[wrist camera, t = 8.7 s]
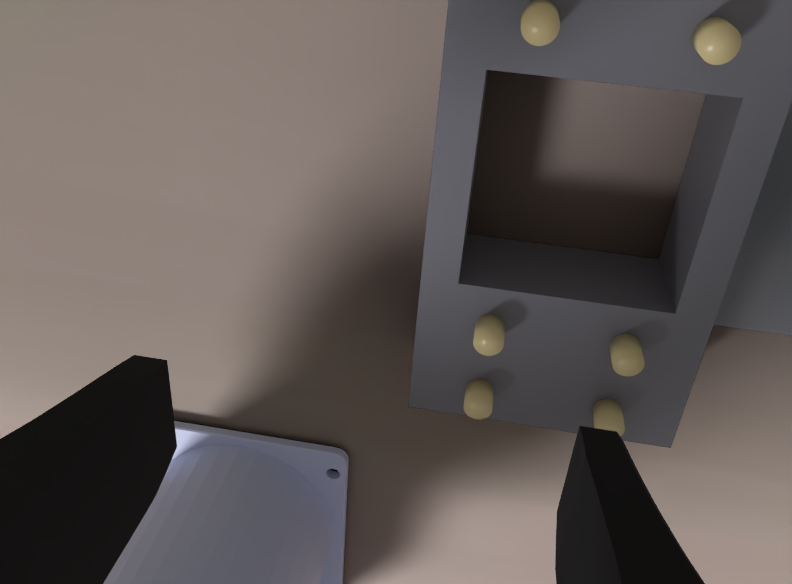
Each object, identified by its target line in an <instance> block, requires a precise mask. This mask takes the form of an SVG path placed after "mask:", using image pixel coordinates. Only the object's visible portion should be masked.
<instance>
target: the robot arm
mask: <svg viewBox="0 0 792 584" xmlns="http://www.w3.org/2000/svg"><path fill="white" fill-rule="evenodd" d="M348 467H349V458H348V455H347V454H346V452H345V451H343V450H342V449H340V448H336V447H331V446H325V445H318V444H312V443H306V442H300V441H294V440H288V439H282V438H276V437H270V436H264V435H258V434H252V433H245V432H239V431H233V430H227V429H221V428H215V427H209V426H203V425H197V424H191V423H185V422H178V421H174V416H173V407H172V399H171V390H170V382H169V373H168V365H167V360H162V359H156V358H149V357H143V356H137V355H134V356H132V357H130V358H129V359H127V360H125V361H124V362H122V363H121V364H119V365H117V366H116V367H114V368H113V369H111V370H110V371H108V372H107V373H105V374H103V375H102V376H100V377H99V378H97V379H96V380H94V381H93V382H91V383H90V384H88V385H87V386H85V387H84V388H82V389H81V390H79V391H78V392H76V393H74V394H73V395H71V396H70V397H68V398H67V399H65V400H64V401H62V402H60V403H59V404H57V405H56V406H54V407H53V408H51V409H49V410H48V411H46V412H45V413H43V414H42V415H40V416H38V417H37V418H35V419H34V420H32V421H30V422H29V423H27V424H25V425H24V426H22V427H20V428H18V429H17V430H15V431H13V432H11V433H10V434H8V435H6V436H5V437H3V438H1V439H0V584H343V569H344V548H345V528H346V507H347V487H348ZM331 469H335V470H337V471H338V472H335V471H332V470H331ZM555 569H556V581H557V584H705V583H704V582H703V580H702V579H701V577H700V576H699V574H698V573H697V571H696V570H695V568H694V567H693V565H692V564H691V562H690V561H689V559H688V558H687V556H686V555H685V553H684V551H683V550H682V548H681V547H680V545H679V543H678V542H677V540H676V538H675V537H674V535H673V533H672V532H671V530H670V528H669V527H668V525H667V523H666V521H665V520H664V518H663V516H662V515H661V513H660V511H659V510H658V508H657V506H656V504H655V502H654V501H653V499H652V497H651V495H650V493H649V491H648V490H647V488H646V486H645V484H644V482H643V480H642V478H641V476H640V474H639V472H638V470H637V468H636V467H635V465H634V462H633V460H632V458H631V456H630V454H629V452H628V450H627V448H626V446H625V444H624V442H623V440H622V438H621V436H620V435H619V434H618V432H616V431H610V430H604V429H597V428H591V427H585V426H579V430H578V434H577V437H576V441H575V445H574V449H573V453H572V457H571V460H570V464H569V468H568V472H567V476H566V479H565V483H564V487H563V491H562V495H561V499H560V502H559V506H558V510H557V530H556V568H555Z"/></svg>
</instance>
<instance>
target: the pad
mask: <svg viewBox="0 0 792 584" xmlns="http://www.w3.org/2000/svg"><path fill="white" fill-rule="evenodd" d="M714 325H718V326H725V327H732V328H739V329H746V330H753V331H761V332H768V333H775V334H782V335H789V336H792V102H791V105H790V108H789V111H788V114H787V117H786V119H785V122H784V125H783V128H782V131H781V134H780V137H779V139H778V142H777V145H776V148H775V151H774V154H773V157H772V159H771V162H770V165H769V168H768V171H767V174H766V177H765V179H764V182H763V185H762V188H761V191H760V194H759V197H758V199H757V202H756V205H755V208H754V211H753V214H752V217H751V219H750V222H749V225H748V228H747V231H746V234H745V237H744V239H743V242H742V245H741V248H740V251H739V254H738V257H737V259H736V262H735V265H734V268H733V271H732V274H731V277H730V279H729V282H728V285H727V288H726V291H725V294H724V297H723V299H722V302H721V305H720V308H719V311H718V314H717V317H716V320H715V322H714Z"/></svg>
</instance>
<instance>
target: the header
mask: <svg viewBox="0 0 792 584" xmlns="http://www.w3.org/2000/svg"><path fill="white" fill-rule="evenodd" d="M489 70H494V71H503V72H512V73H521V74H530V75H539V76H548V77H557V78H566V79H575V80H584V81H593V82H602V83H611V84H620V85H629V86H638V87H647V88H656V89H665V90H674V91H683V92H692V93H702V94H706V97H705V100H704V104H703V107H702V111H701V114H700V117H699V121H698V124H697V128H696V131H695V135H694V138H693V142H692V145H691V149H690V152H689V156H688V159H687V163H686V166H685V170H684V173H683V177H682V180H681V183H680V187H679V190H678V194H677V197H676V201H675V204H674V208H673V211H672V215H671V218H670V222H669V225H668V229H667V232H666V236H665V239H664V243H663V246H662V249H661V253H660V256H659V259H653V258H646V257H638V256H631V255H623V254H616V253H608V252H601V251H593V250H586V249H578V248H571V247H563V246H555V245H548V244H540V243H533V242H525V241H518V240H510V239H503V238H495V237H488V236H480V235H473V234H467V229H468V222H469V214H470V207H471V199H472V192H473V184H474V177H475V169H476V161H477V154H478V146H479V139H480V131H481V124H482V116H483V109H484V101H485V93H486V86H487V78H488V71H489ZM791 102H792V0H449V1H448V11H447V21H446V31H445V41H444V51H443V61H442V71H441V81H440V91H439V101H438V111H437V121H436V131H435V141H434V151H433V161H432V171H431V181H430V191H429V201H428V211H427V221H426V231H425V241H424V251H423V261H422V271H421V281H420V291H419V301H418V311H417V321H416V331H415V341H414V351H413V361H412V371H411V381H410V391H409V401H408V407H414V408H420V409H427V410H433V411H439V412H446V413H452V414H458V415H465V416H469V417H471V418H473V419H490V420H497V421H503V422H509V423H516V424H522V425H528V426H535V427H541V428H548V429H554V430H560V431H567V432H573V433H578V430H579V426H585V427H591V428H597V429H604V430H610V431H616V432H618V434H619V435H620V436H621V438H622V440H624V441H630V442H637V443H643V444H649V445H656V446H662V447H668V448H671V445H672V442H673V440H674V437H675V434H676V431H677V428H678V425H679V422H680V420H681V417H682V414H683V411H684V408H685V405H686V402H687V400H688V397H689V394H690V391H691V388H692V385H693V382H694V380H695V377H696V374H697V371H698V368H699V365H700V362H701V360H702V357H703V354H704V351H705V348H706V345H707V342H708V340H709V337H710V334H711V331H712V328H713V325H714V322H715V320H716V317H717V314H718V311H719V308H720V305H721V302H722V299H723V297H724V294H725V291H726V288H727V285H728V282H729V279H730V277H731V274H732V271H733V268H734V265H735V262H736V259H737V257H738V254H739V251H740V248H741V245H742V242H743V239H744V237H745V234H746V231H747V228H748V225H749V222H750V219H751V217H752V214H753V211H754V208H755V205H756V202H757V199H758V197H759V194H760V191H761V188H762V185H763V182H764V179H765V177H766V174H767V171H768V168H769V165H770V162H771V159H772V157H773V154H774V151H775V148H776V145H777V142H778V139H779V137H780V134H781V131H782V128H783V125H784V122H785V119H786V117H787V114H788V111H789V108H790V105H791Z"/></svg>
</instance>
